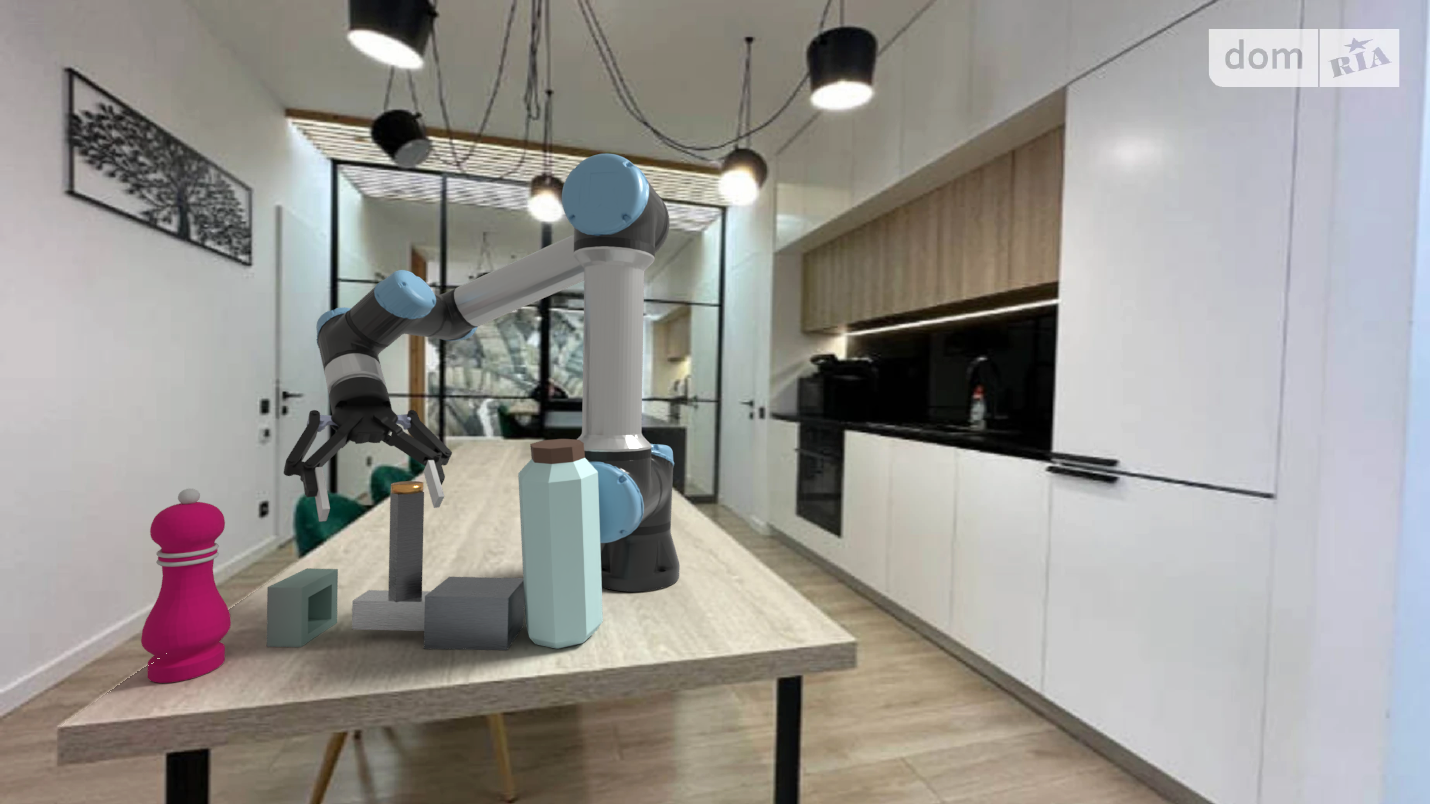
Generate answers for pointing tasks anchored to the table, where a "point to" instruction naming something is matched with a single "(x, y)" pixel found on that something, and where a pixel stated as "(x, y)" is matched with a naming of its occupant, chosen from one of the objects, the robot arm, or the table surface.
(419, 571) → the gray hammer
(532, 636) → the water bottle
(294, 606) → the socket block
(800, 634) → the table surface
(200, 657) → the pepper mill
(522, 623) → the charcoal rectangular brick
